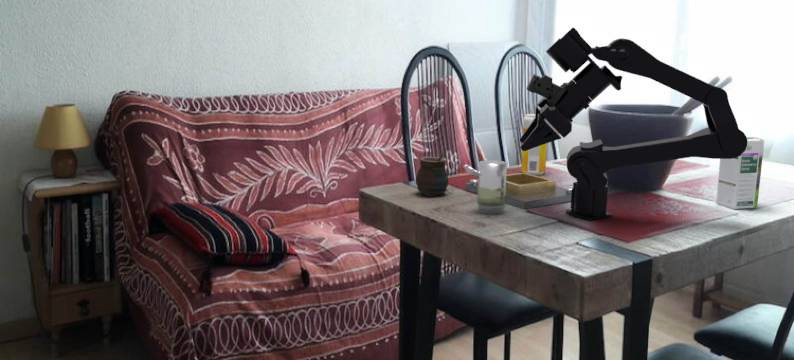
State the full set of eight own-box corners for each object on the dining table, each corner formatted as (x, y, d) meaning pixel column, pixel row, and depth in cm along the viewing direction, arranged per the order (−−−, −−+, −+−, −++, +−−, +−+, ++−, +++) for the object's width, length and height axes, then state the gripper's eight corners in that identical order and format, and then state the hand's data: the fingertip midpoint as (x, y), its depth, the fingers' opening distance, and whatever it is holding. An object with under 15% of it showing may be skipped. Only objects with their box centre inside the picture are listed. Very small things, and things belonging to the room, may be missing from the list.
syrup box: (734, 210, 142) (742, 140, 139) (714, 203, 147) (721, 135, 144) (757, 208, 143) (766, 139, 140) (736, 201, 149) (744, 135, 146)
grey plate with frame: (580, 199, 149) (581, 183, 149) (523, 208, 141) (524, 192, 140) (518, 182, 166) (519, 167, 165) (465, 189, 158) (465, 174, 157)
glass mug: (504, 208, 142) (506, 160, 140) (505, 215, 136) (507, 165, 134) (462, 206, 143) (464, 159, 141) (461, 213, 137) (463, 164, 135)
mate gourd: (430, 188, 159) (432, 145, 156) (455, 194, 153) (457, 150, 151) (408, 193, 154) (410, 149, 151) (433, 200, 148) (435, 154, 146)
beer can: (543, 171, 179) (547, 113, 176) (546, 176, 173) (549, 116, 170) (520, 170, 179) (522, 113, 176) (521, 175, 173) (524, 116, 170)
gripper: (550, 57, 141) (494, 110, 145) (556, 62, 123) (492, 122, 127) (587, 97, 141) (530, 148, 145) (599, 106, 123) (533, 165, 127)
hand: (521, 145), depth 136 cm, fingers open, 9 cm apart
